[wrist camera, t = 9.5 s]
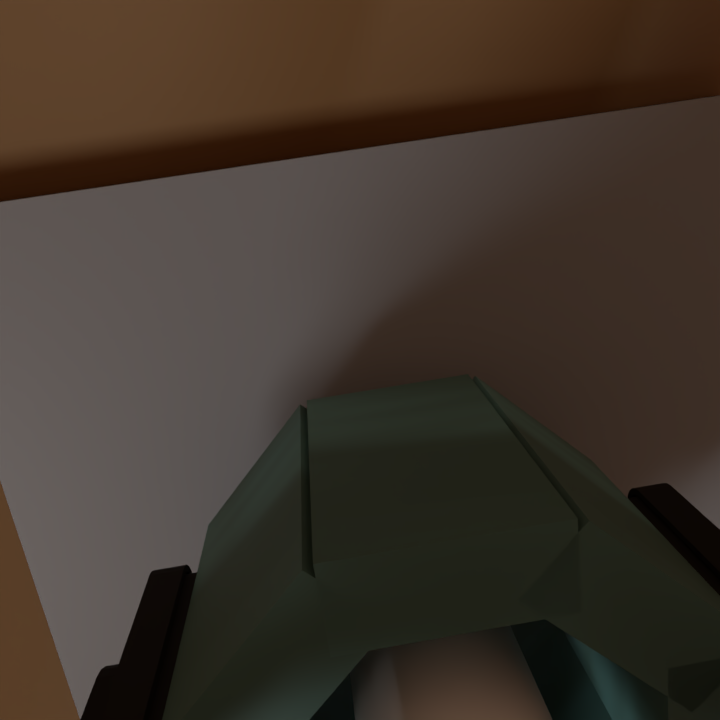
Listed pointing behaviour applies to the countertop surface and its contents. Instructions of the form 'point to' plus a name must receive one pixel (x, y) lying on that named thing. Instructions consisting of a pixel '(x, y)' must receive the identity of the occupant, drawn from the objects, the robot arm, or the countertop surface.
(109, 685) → the robot arm
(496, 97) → the countertop surface
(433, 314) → the post fixture
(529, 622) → the ring
